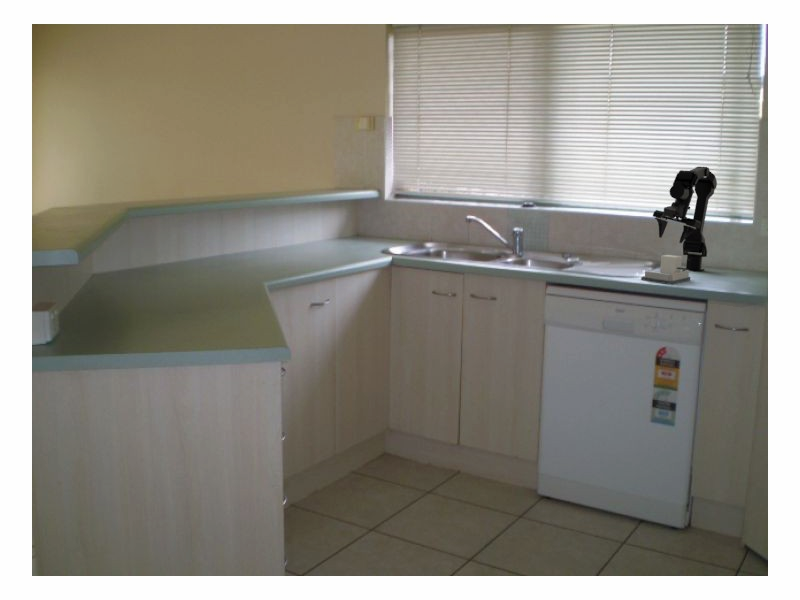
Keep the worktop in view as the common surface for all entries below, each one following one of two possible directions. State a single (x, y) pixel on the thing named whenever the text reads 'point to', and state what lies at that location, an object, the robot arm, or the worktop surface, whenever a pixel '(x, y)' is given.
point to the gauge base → (667, 277)
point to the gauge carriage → (670, 264)
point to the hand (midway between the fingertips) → (670, 240)
